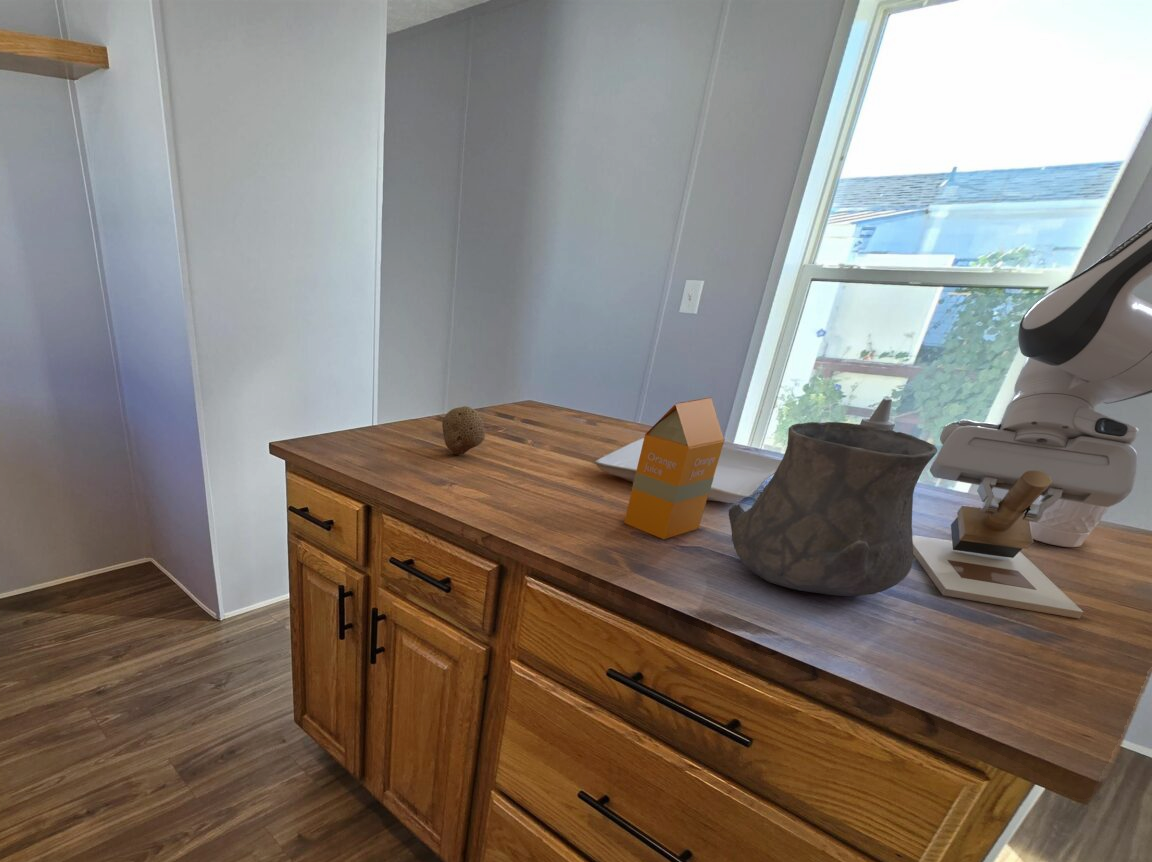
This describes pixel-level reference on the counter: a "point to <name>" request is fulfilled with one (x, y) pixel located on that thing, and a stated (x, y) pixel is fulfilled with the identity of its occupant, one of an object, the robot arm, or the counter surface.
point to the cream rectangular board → (991, 578)
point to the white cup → (1066, 523)
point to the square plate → (731, 478)
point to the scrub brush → (1000, 520)
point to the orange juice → (676, 470)
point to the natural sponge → (463, 429)
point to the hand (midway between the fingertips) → (1009, 515)
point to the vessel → (835, 511)
